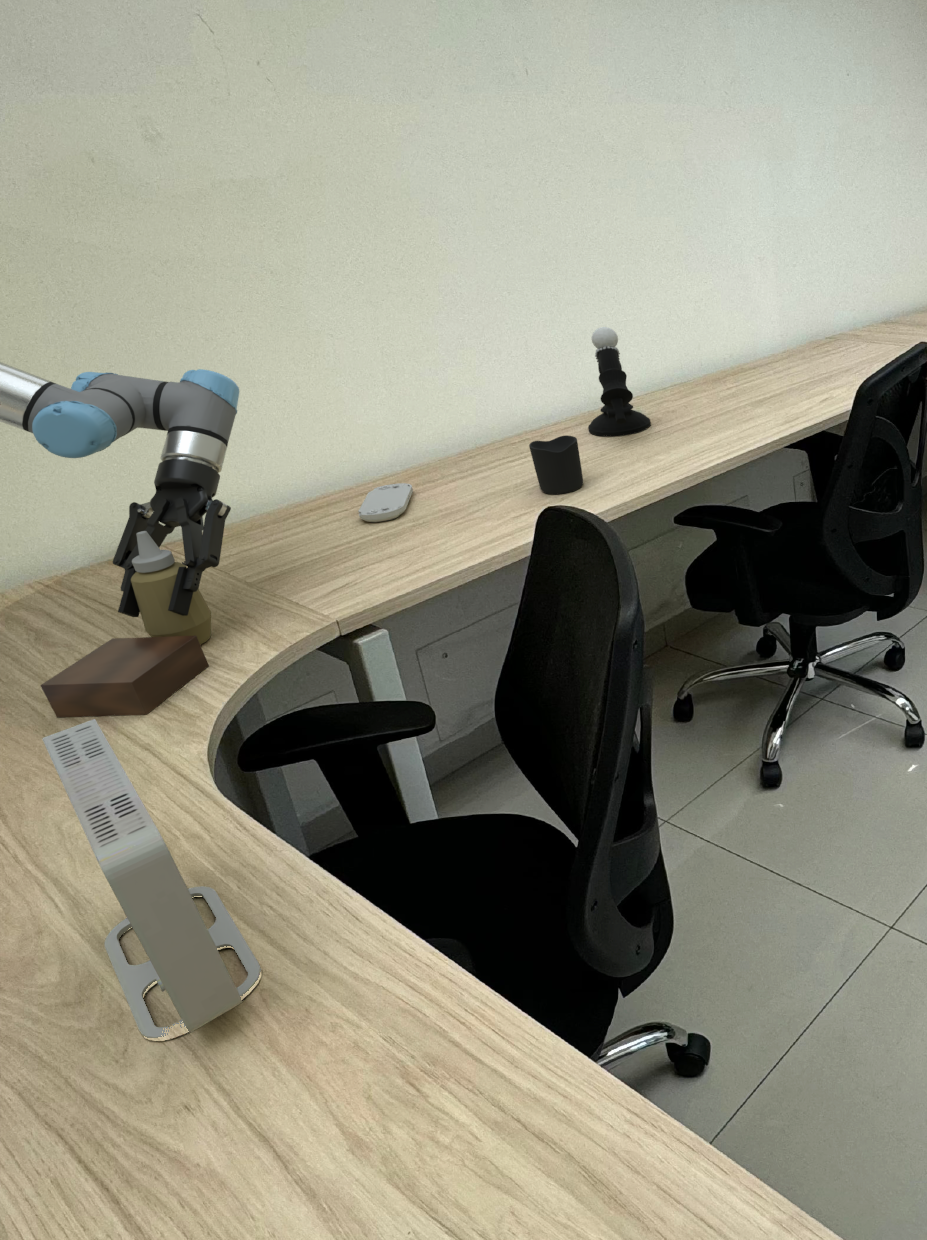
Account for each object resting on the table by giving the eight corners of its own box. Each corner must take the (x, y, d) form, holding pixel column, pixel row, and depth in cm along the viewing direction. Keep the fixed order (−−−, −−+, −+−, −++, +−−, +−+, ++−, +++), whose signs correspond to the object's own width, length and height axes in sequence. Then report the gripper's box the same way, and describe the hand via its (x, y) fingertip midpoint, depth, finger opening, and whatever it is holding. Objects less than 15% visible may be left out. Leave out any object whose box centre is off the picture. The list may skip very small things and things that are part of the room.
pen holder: (572, 496, 187) (563, 449, 182) (530, 495, 188) (520, 449, 184) (593, 480, 195) (584, 435, 191) (552, 479, 197) (543, 435, 192)
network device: (284, 1006, 77) (199, 822, 69) (160, 1080, 71) (51, 889, 63) (200, 866, 93) (122, 702, 84) (93, 917, 87) (-2, 747, 78)
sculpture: (647, 416, 239) (632, 319, 228) (658, 441, 219) (642, 336, 208) (587, 423, 235) (569, 325, 224) (592, 450, 214) (573, 343, 204)
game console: (401, 508, 177) (354, 514, 175) (404, 519, 178) (358, 526, 176) (413, 479, 193) (370, 484, 191) (416, 489, 194) (373, 495, 192)
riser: (56, 717, 119) (40, 685, 117) (126, 668, 130) (112, 638, 128) (146, 714, 119) (131, 682, 117) (209, 665, 130) (196, 635, 128)
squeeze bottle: (226, 625, 141) (183, 517, 133) (212, 649, 134) (166, 537, 126) (164, 636, 138) (117, 527, 131) (147, 661, 131) (96, 548, 124)
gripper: (270, 475, 141) (238, 618, 133) (147, 480, 141) (108, 623, 134) (236, 454, 134) (200, 603, 126) (106, 459, 134) (62, 608, 127)
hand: (153, 613), depth 130 cm, fingers closed on squeeze bottle, 6 cm apart
